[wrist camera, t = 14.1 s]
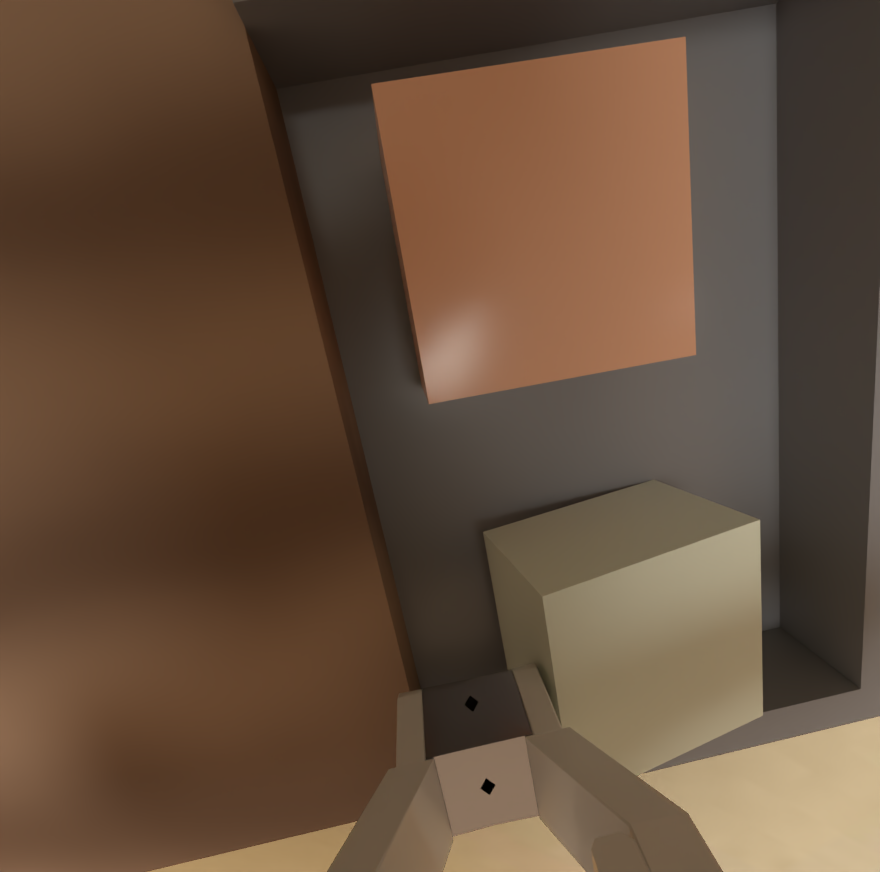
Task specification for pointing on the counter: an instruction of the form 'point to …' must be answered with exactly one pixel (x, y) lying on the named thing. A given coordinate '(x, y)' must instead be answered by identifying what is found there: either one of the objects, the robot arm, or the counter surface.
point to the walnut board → (174, 460)
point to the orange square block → (542, 216)
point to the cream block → (636, 617)
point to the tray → (645, 386)
